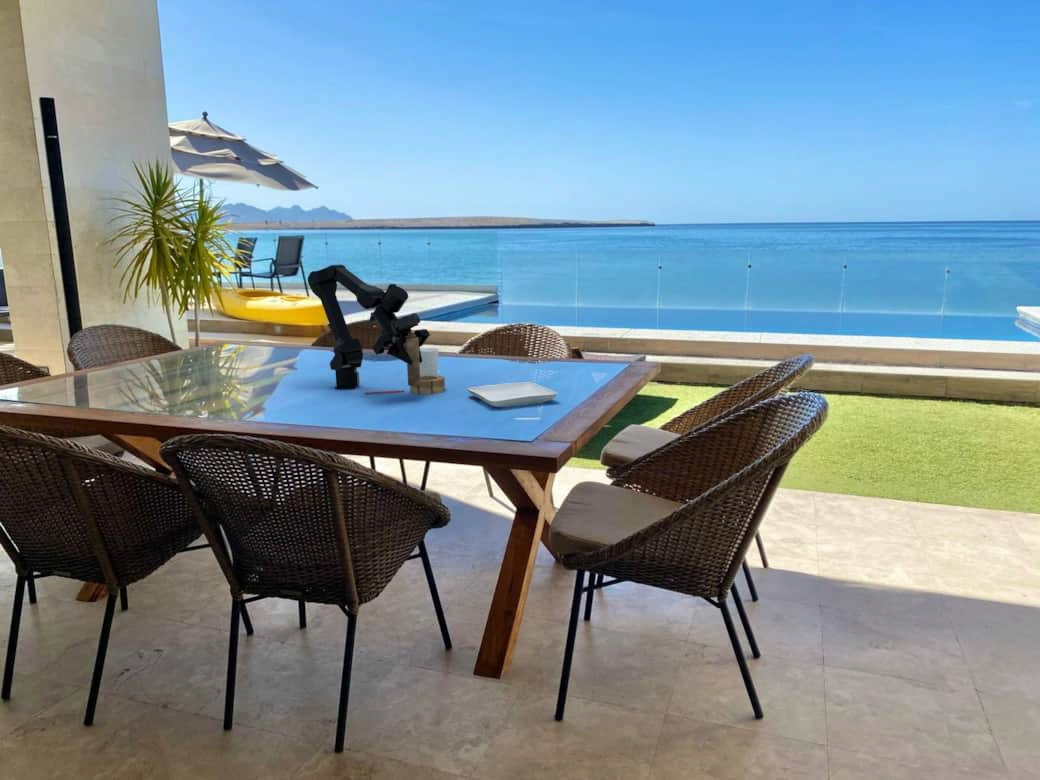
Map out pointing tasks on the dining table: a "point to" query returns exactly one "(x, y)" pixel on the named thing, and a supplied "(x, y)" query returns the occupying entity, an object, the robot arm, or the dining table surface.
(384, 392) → the brick-red rectangular plank
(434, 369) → the white cup
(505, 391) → the salad plate
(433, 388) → the tan segmented ring
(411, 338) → the tall brown cylinder
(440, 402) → the dining table surface
